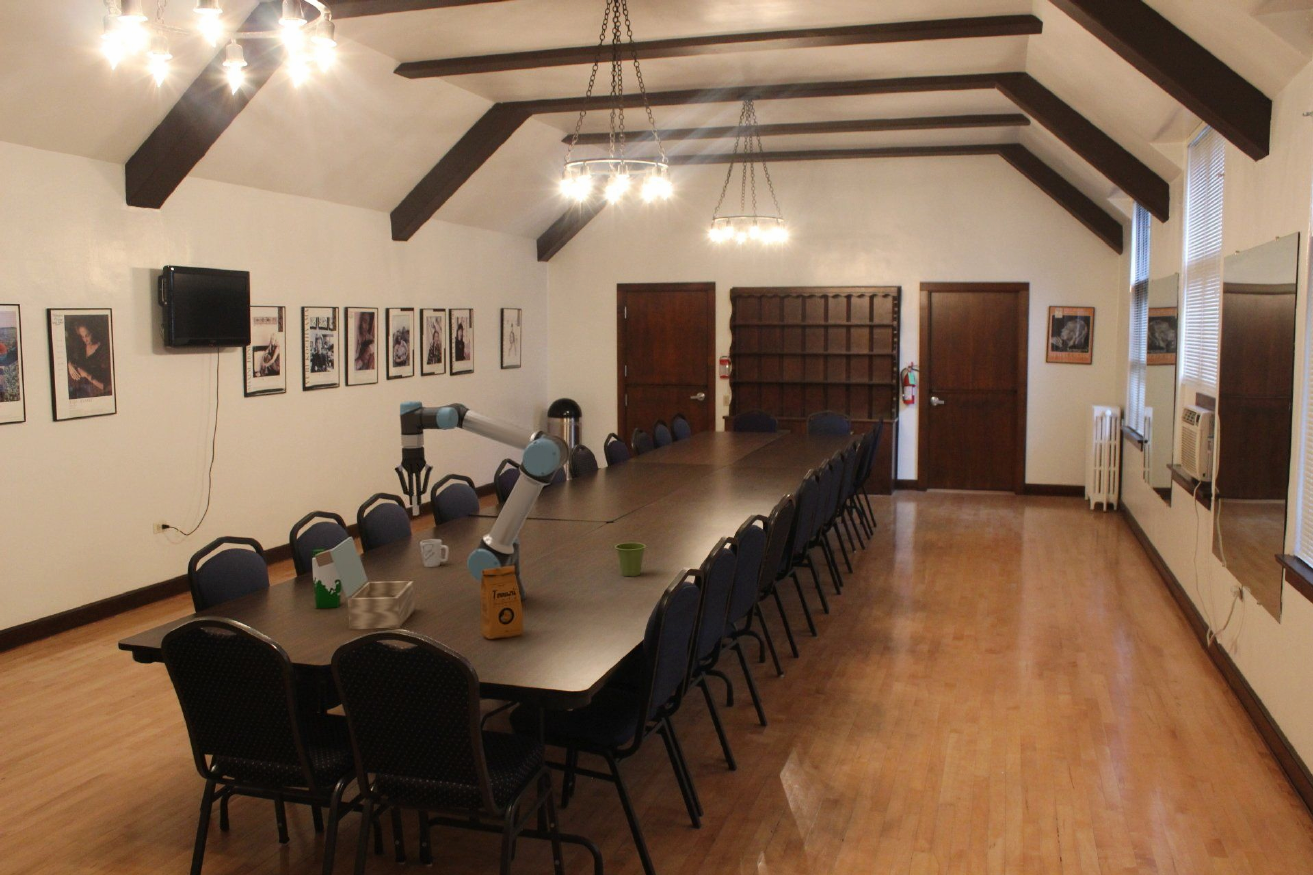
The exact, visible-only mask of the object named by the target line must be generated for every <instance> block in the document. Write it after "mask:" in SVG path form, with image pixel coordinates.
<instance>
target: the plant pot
mask: <svg viewBox="0 0 1313 875" xmlns="http://www.w3.org/2000/svg"><path fill="white" fill-rule="evenodd" d="M646 546H647V545H646V544H644V543H641V542H623V543H618V544H616V545H614V547H615V550H616V553H617V556H618V562H619V567H620V573H621V575H622V576H623V577H637V576H640V574H641V570H642V565H643V557H644V553H645V548H646Z"/></svg>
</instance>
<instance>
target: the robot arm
mask: <svg viewBox="0 0 1313 875" xmlns="http://www.w3.org/2000/svg"><path fill="white" fill-rule="evenodd" d="M399 420H400V440H401V446H402V448H401V458H402V459H401V461H400V465H398V466H396V467H394V471H395V472H396V474H397V476H398V480H399V482H400V486H401V489H402V492H403V495H406V496H408V501H409V502H408V503H409V505H410V506H412V516H418V515H420V506H421V505H422V496H423V495H425V494H427V490H428V486H429V480H430V476H431V473H432V470H433V469H434V466H433V465H430V464H428V463H427V460H426V458H425V456H426V455H425V447H424V445H425V439H424V437H425V436H424V430H444V431H446V430H454V429H456V428H458V429H460V430H461V429H462V430H464V431H467V432H469V433H471V434H472V433H473V434H476V435H478V436H481V437H483V438H484V437H485V438H487V439H490V440H493V441H496V442H499V443H501V444H504V445H507V446H509V447H513V448H515V449H517V450H521V451H523V453H522V461H521V463H520V465H519V467H518V470H519V473H520V475H519V477H518V479H517V480H516V482H515V484H514V486H513V489H512V490H511V492H510V494H509V496H508V498H507V499H506V502H505V503H504V504H503V507H502V509H501V511H500V513H499V515H498V517H497V518H496V521H495V522H494V524H493V525H492V528H491V530H490V531H489V533H486V534H484V535H483V536H482V537H481V539H480V541H479V543H478V546H477V547H476V549H474V550H473V551H471V553H470V554H469V555H468V558H467V563H466V564H467V569H468V572H469V573H470V575H471V577H473V578H474V579H475V580H476V581H478V582H481V580H482V578H481V574H482V570H484V569H491V568H501V567H508V566H515V572H514V573H515V575H516V580H517V584H518V588H519V593H520V597H521V602H522V601H524V600H525V599H526V598H527V596H526V595H527V594H526V590H525V586H524V583H523V581H522V578H521V568H520V567H521V564H520V563H521V562H520V540H519V537H518V535H519V532H520V531H521V529H522V528H523V526H524V523H525V521H526V519H527V518H528V516H529V515H530V512H531V510H532V509H533V507H534V505H535V503H536V501H537V499H538V497H539V495H540V494H541V492H542V489H543V488H544V486H548V485H550V484H551V483H552V481H553V479H554V477H555V475H556V473H557V472H558V469H561V468H562V467H564V466H565V465H566V464H567V462H568V461H569V459H570V454H571V448H570V446H569V443H568V442H567V441H566V439H564V438H563V437H561V436H559V435H556V434H554V433H550V432H547V431H544V430H541V429H539V430H537V431H535V430H532V429H529V428H526V427H523V426H520V425H518V424H514V423H512V422H509V421H506V420H502V419H499V418H497V417H494V416H492V415H488V414H484V413H483V412H479V411H477V410H473V409H471V408H468V407H467V406H466V405H465V404H463V403H458V402H455V403H454V402H453V403H450V404H446V405H443V406H442V405H441V406H438V407H437V406H435V407H434V406H432V407H429V406H428V407H427V406H426V407H425V406H423V402H422V401H420V400H410V401H409V400H408V401H403V402H401V403H400V405H399ZM403 470H404V471H405V472H406V473H407V481H406V478H405V475H404V472H403ZM423 470H425V474H424V477H423V483H422V479H421V478H422V476H421V475H422V472H423ZM414 478H415V484H414ZM414 485H415V487H414ZM414 488H415V489H414ZM414 490H415V491H414ZM415 492H416V494H415Z"/></svg>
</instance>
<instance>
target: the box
mask: <svg viewBox="0 0 1313 875" xmlns="http://www.w3.org/2000/svg"><path fill="white" fill-rule="evenodd" d="M414 584H415V583H414V580H407V581H406V580H403V581H402V580H401V581H399V580H397V581H366V582H365V583H364V584H363V585H362V586H361V587H360V588H358V589H357V590H356V591H355V592H354V593H353V594H352V595H350V596H349V597H347V613H348V628H349V630H374V629H373V628H388V629H387V630H389V629H390V630H391V629H392V630H394V629H395V630H397V629H400V628H401V627H402V625H403V624H404V623H405V622H406V621H407V619H408V618H409V617H410V616H411V615H412V614H413V612H414V611H415V610H416V606H415V605H416V604H415V587H414Z"/></svg>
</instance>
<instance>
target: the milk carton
mask: <svg viewBox="0 0 1313 875" xmlns="http://www.w3.org/2000/svg"><path fill="white" fill-rule="evenodd" d="M324 551H326V550H325V548H317V549H313V550H312V558H311V563H312V565H311V566H312V580H313V596H314V603H315V609H316V610H321V609H322V610H323V609H333V608H335V609H336V608H338V607H339V605H340V603H341V597H342V584H341V581H340V578H339V575H338V573H337V570H336V567H335V564H334V562H333V563H330V564H327V565H324V566H321V567H319V566H318V564H317V561H316V558H315V555H317V554H318V553H321V552H324Z"/></svg>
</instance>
